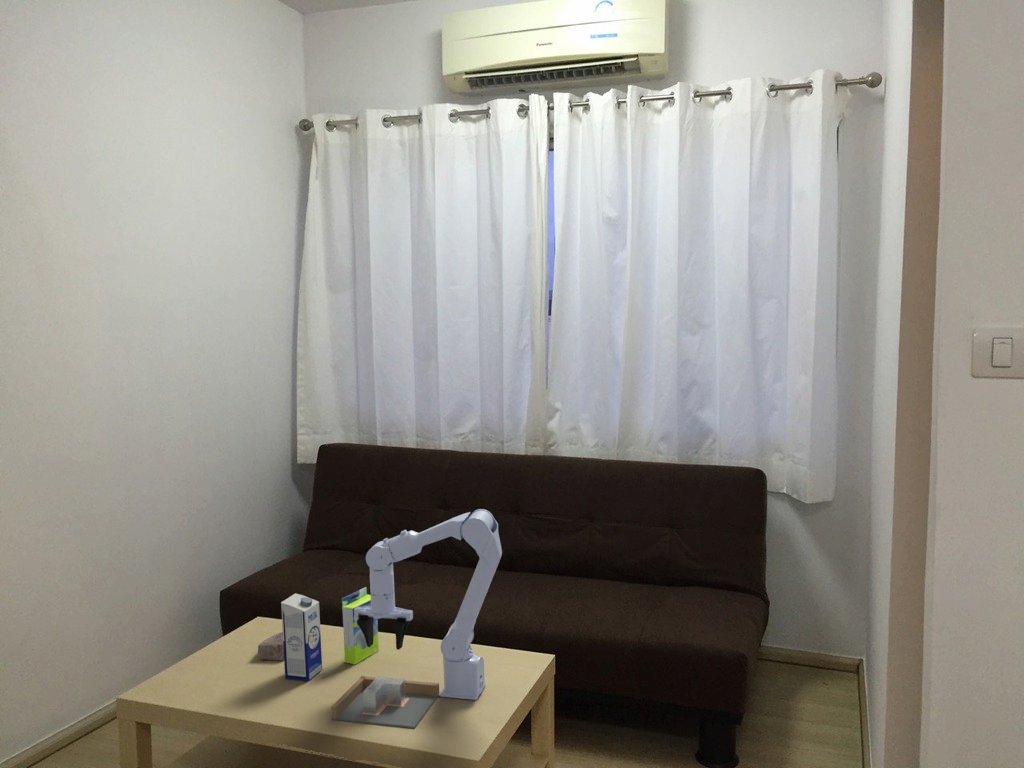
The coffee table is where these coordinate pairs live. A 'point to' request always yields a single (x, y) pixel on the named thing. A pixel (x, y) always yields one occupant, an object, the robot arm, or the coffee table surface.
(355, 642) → the box
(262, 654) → the stone
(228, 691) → the coffee table surface
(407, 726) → the arena
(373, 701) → the l block
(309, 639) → the milk carton
